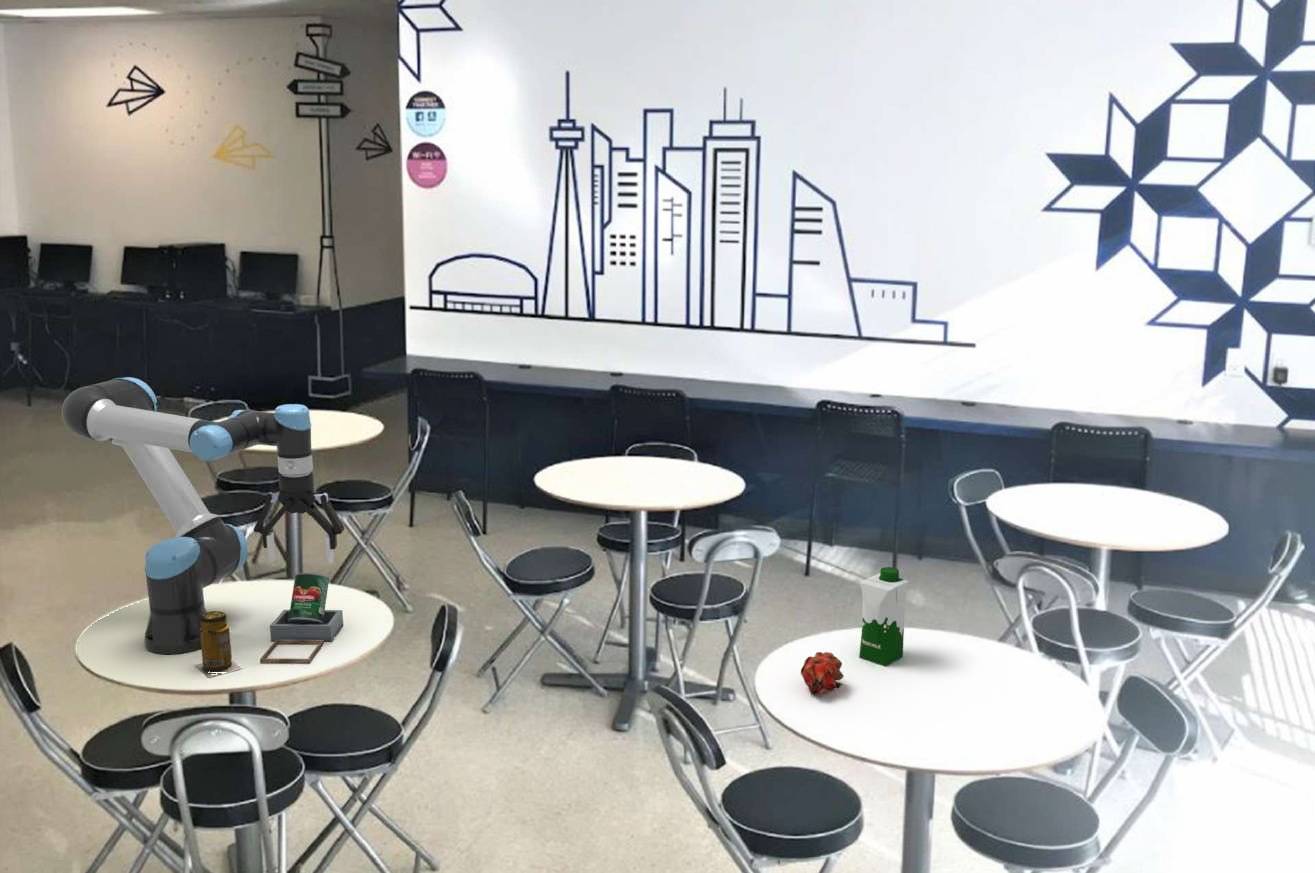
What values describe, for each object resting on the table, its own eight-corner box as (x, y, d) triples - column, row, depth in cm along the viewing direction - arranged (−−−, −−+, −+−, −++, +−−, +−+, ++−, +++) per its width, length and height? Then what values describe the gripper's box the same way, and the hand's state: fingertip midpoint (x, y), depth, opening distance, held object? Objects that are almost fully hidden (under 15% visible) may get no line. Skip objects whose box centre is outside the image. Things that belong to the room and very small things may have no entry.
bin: (271, 642, 282) (269, 625, 281) (284, 625, 292) (283, 609, 291) (331, 642, 282) (330, 626, 281) (343, 625, 292) (342, 610, 291)
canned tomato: (290, 617, 280) (297, 570, 284) (286, 623, 287) (292, 578, 291) (325, 621, 283) (331, 575, 287) (320, 628, 290) (326, 582, 294)
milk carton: (908, 656, 274) (912, 572, 269) (886, 669, 267) (890, 582, 262) (875, 646, 279) (878, 562, 275) (852, 657, 273) (856, 573, 268)
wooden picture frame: (260, 663, 271) (260, 659, 270) (276, 643, 281) (276, 639, 281) (309, 663, 270) (309, 659, 270) (324, 643, 281) (323, 639, 281)
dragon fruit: (830, 683, 264) (819, 715, 253) (798, 659, 264) (786, 690, 253) (854, 659, 260) (844, 690, 249) (821, 634, 260) (810, 664, 249)
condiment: (227, 657, 274) (223, 606, 271) (242, 669, 268) (237, 617, 265) (195, 665, 270) (190, 614, 267) (208, 678, 263) (203, 626, 260)
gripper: (235, 476, 274) (241, 565, 279) (346, 478, 274) (350, 568, 279) (247, 467, 282) (252, 554, 287) (355, 469, 281) (359, 557, 286)
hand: (301, 561), depth 283 cm, fingers open, 13 cm apart
